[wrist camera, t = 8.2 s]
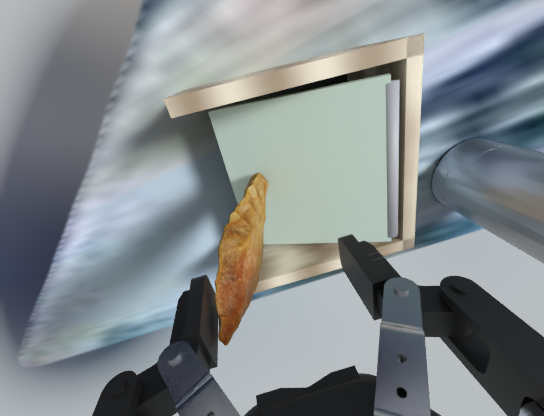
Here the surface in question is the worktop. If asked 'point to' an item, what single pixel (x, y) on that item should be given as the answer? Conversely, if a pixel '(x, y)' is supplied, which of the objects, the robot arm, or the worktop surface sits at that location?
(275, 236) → the trapdoor
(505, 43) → the worktop surface
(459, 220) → the worktop surface
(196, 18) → the worktop surface
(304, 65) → the trapdoor frame
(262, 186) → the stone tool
